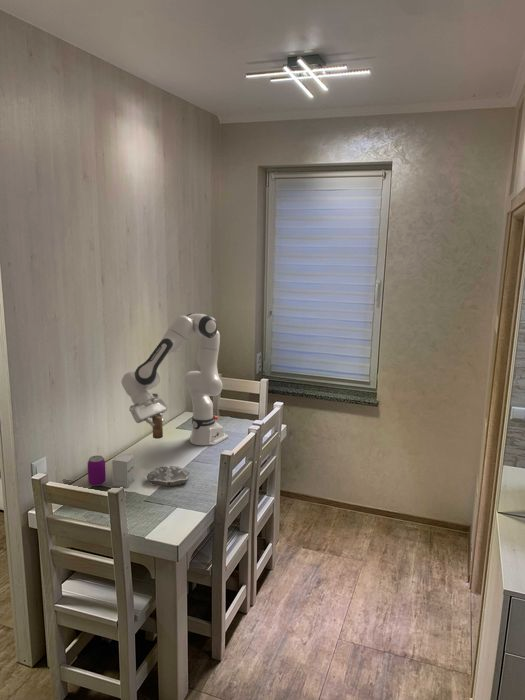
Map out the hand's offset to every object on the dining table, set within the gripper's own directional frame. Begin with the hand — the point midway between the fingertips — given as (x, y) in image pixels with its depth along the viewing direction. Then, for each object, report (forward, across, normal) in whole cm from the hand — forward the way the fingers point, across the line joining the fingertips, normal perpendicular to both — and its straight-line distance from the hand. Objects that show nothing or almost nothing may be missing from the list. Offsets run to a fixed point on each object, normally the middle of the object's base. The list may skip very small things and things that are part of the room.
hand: (158, 423), depth 251 cm
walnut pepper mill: (+4, 0, +5) cm, 7 cm away
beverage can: (+8, -32, +21) cm, 39 cm away
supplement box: (+16, -25, +14) cm, 33 cm away
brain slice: (+26, -10, +5) cm, 28 cm away
